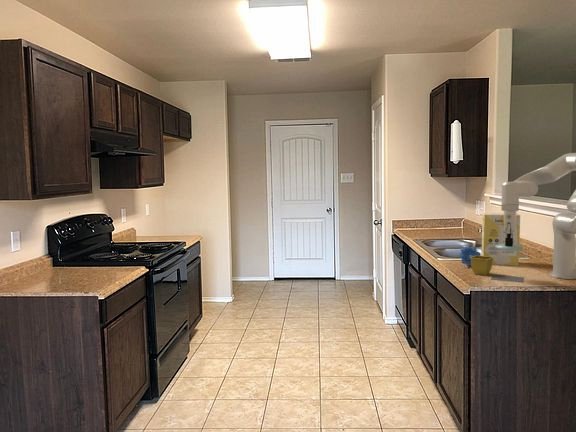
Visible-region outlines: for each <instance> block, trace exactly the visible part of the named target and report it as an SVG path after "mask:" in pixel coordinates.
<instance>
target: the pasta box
mask: <svg viewBox="0 0 576 432" xmlns="http://www.w3.org/2000/svg"><path fill="white" fill-rule="evenodd" d="M481 219H482V220H481V221H482V223H481V224H482V225H481V252H480V254H481V255H480V256H487V257H493V262H492V266H493V265H494V266H497V265H498V266H520V265H519V261H520V250H515V251H511V250H500V249H496V245H498V244H505V238H506V232H505V231H504V212H503V213H499V212H498V213H496V212H495V213H494V212H493V213H492V212H482V218H481ZM520 233H521V215H520V214H518V213H516V231H515V232H514V231H513V244H515V245H520V237H521V235H520Z"/></svg>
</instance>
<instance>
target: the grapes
mask: <svg viewBox="0 0 576 432" xmlns="http://www.w3.org/2000/svg"><path fill="white" fill-rule="evenodd" d="M460 252H461V253H459V254H458V257H459V258H460V259H461V263H462V264H463V265H466V267H468V268H472V267H471V257H473V256H476V255H477V256H481V252H479V251H477V247H475V246H473V247H471V246H470V245H466V246H465V247H461V248H460Z"/></svg>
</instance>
